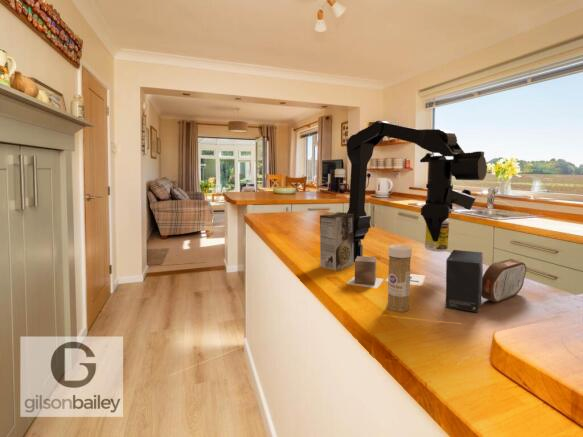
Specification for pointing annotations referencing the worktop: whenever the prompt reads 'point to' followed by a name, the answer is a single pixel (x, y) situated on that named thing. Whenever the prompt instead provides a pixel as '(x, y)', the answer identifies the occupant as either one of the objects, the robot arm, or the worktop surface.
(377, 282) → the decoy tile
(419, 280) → the label tile
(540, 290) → the worktop surface
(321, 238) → the coffee box
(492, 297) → the tin
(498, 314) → the worktop surface
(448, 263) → the small box
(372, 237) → the worktop surface
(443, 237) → the supplement bottle
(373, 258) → the walnut block
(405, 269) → the sprinkles bottle
